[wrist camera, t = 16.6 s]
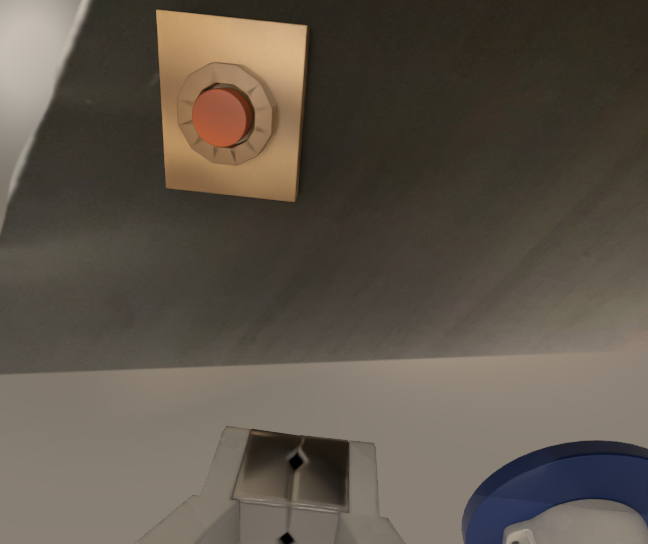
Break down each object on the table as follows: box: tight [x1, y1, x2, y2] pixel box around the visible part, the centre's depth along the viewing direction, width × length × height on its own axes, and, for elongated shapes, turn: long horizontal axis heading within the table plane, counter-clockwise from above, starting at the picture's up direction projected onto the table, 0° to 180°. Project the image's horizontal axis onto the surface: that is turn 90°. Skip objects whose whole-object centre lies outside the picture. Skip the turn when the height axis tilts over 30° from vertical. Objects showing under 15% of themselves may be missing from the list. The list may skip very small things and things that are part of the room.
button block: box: [156, 10, 310, 202], centre depth 33 cm, size 12×10×4 cm
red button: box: [192, 87, 252, 147], centre depth 30 cm, size 4×4×2 cm
